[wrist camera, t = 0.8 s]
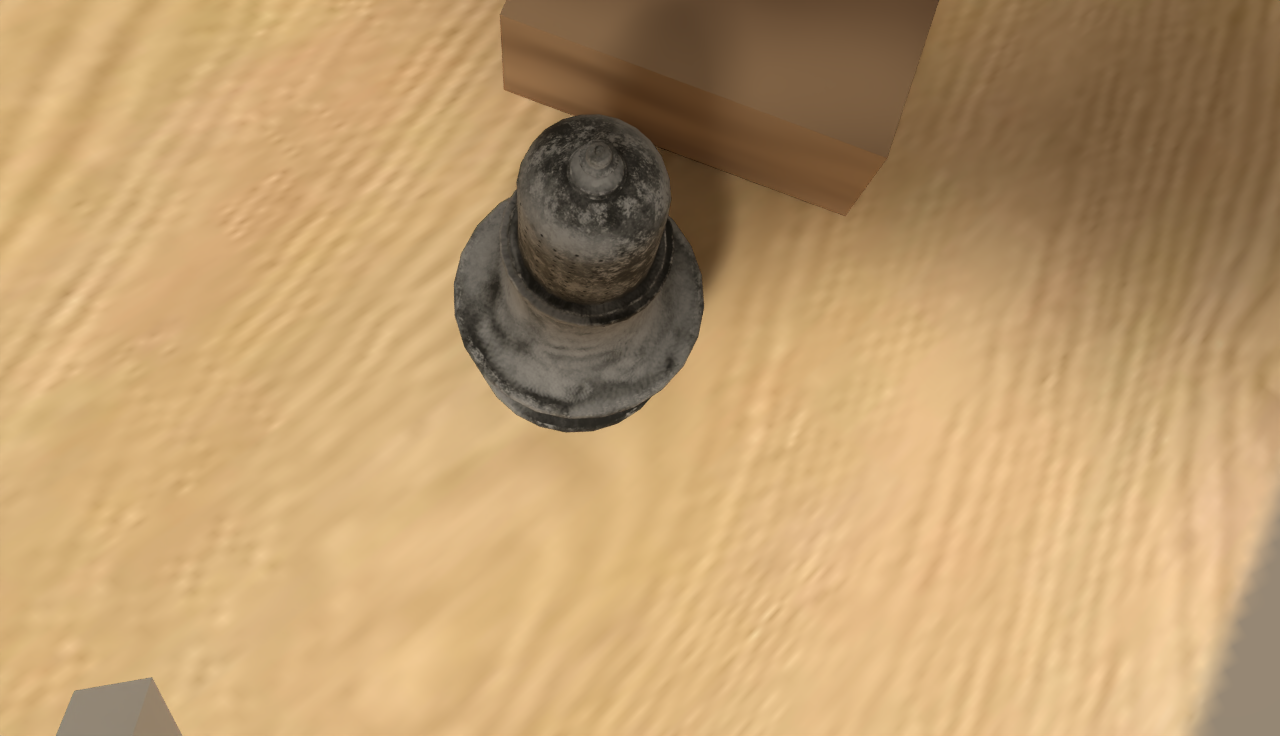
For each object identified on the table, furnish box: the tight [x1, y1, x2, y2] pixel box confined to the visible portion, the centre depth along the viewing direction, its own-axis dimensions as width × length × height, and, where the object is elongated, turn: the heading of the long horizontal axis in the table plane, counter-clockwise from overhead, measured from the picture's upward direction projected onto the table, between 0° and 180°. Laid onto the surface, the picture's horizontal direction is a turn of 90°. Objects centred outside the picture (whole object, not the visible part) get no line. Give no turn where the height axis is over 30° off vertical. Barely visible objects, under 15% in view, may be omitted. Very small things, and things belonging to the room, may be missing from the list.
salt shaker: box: [454, 114, 704, 432], centre depth 26 cm, size 6×6×12 cm
